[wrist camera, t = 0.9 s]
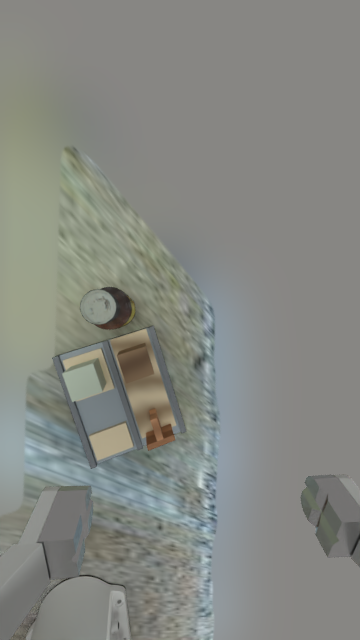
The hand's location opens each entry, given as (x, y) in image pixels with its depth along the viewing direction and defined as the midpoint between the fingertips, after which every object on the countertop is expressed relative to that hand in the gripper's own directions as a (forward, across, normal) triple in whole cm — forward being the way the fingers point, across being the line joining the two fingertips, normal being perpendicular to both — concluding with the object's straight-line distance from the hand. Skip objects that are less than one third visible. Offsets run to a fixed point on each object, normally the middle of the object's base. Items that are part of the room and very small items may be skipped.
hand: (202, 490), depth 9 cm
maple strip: (+34, -4, -18) cm, 39 cm away
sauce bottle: (+39, -9, -5) cm, 41 cm away
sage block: (+33, -14, -16) cm, 39 cm away
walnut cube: (+34, -6, -13) cm, 37 cm away
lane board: (+34, -8, -21) cm, 41 cm away
